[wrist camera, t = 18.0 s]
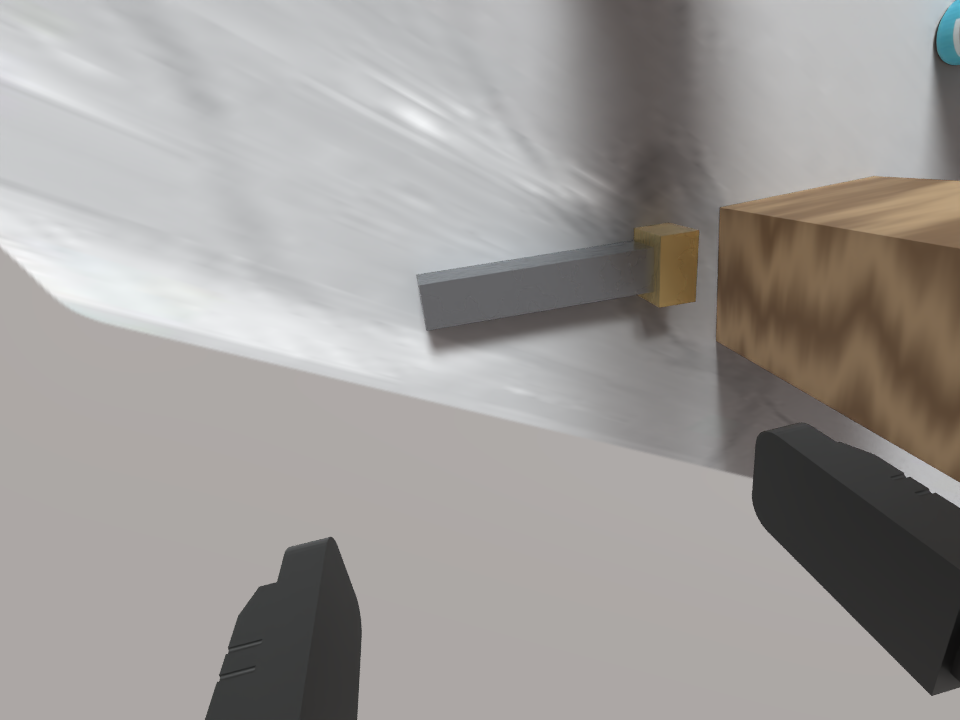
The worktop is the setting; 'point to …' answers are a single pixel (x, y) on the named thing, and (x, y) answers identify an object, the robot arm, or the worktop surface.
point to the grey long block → (567, 279)
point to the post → (854, 303)
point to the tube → (950, 35)
